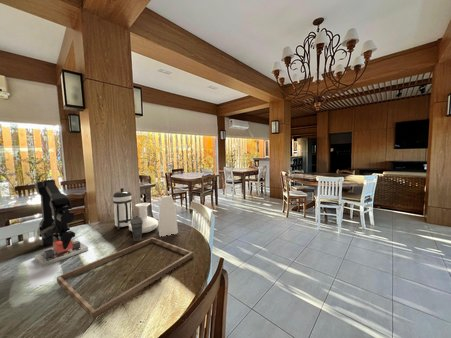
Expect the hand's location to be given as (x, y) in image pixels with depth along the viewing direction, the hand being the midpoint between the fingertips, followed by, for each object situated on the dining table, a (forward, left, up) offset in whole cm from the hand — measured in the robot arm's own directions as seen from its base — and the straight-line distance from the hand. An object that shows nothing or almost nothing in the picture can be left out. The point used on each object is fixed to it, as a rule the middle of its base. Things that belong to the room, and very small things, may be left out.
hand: (63, 247), depth 107 cm
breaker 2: (0, +6, -2) cm, 6 cm away
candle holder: (+5, +46, -5) cm, 47 cm away
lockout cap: (0, 0, -1) cm, 1 cm away
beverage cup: (+16, +34, -5) cm, 38 cm away
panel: (-1, 0, -4) cm, 5 cm away
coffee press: (-14, +42, -5) cm, 45 cm away
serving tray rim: (+44, +14, -4) cm, 46 cm away
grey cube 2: (0, 0, -2) cm, 3 cm away
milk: (+23, +53, -5) cm, 58 cm away
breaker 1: (0, -6, -2) cm, 6 cm away
